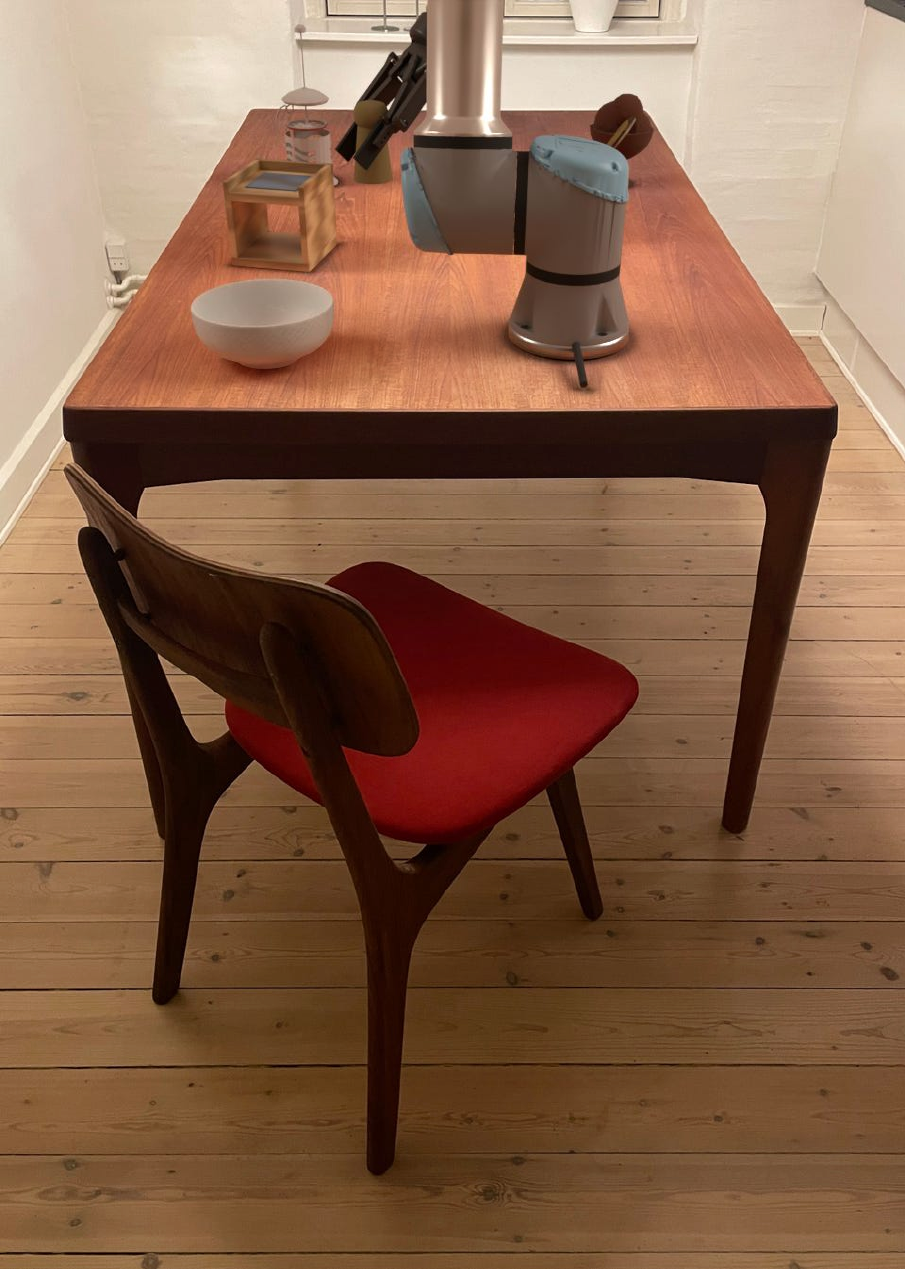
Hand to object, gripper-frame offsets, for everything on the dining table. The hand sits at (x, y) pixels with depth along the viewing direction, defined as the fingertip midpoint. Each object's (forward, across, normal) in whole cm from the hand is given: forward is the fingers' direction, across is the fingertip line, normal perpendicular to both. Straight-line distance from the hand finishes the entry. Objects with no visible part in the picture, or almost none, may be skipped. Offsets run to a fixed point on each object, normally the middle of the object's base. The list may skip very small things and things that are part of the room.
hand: (350, 159), depth 168 cm
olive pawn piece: (0, 0, -5) cm, 5 cm away
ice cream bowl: (-30, +2, -46) cm, 55 cm away
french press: (+3, +32, -13) cm, 35 cm away
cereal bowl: (+30, -36, +13) cm, 49 cm away
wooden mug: (-13, -19, -29) cm, 37 cm away
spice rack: (+17, -2, +1) cm, 17 cm away
